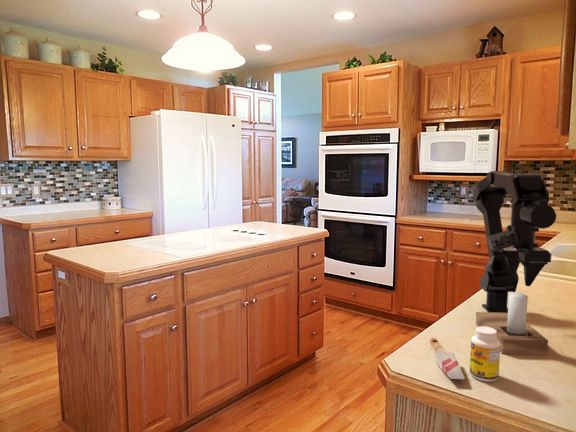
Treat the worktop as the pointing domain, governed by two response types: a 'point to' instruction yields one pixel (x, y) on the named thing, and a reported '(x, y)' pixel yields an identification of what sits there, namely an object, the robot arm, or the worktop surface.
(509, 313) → the peg
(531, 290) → the worktop surface
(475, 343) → the supplement bottle
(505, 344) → the brown holed block
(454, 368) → the paintbrush
